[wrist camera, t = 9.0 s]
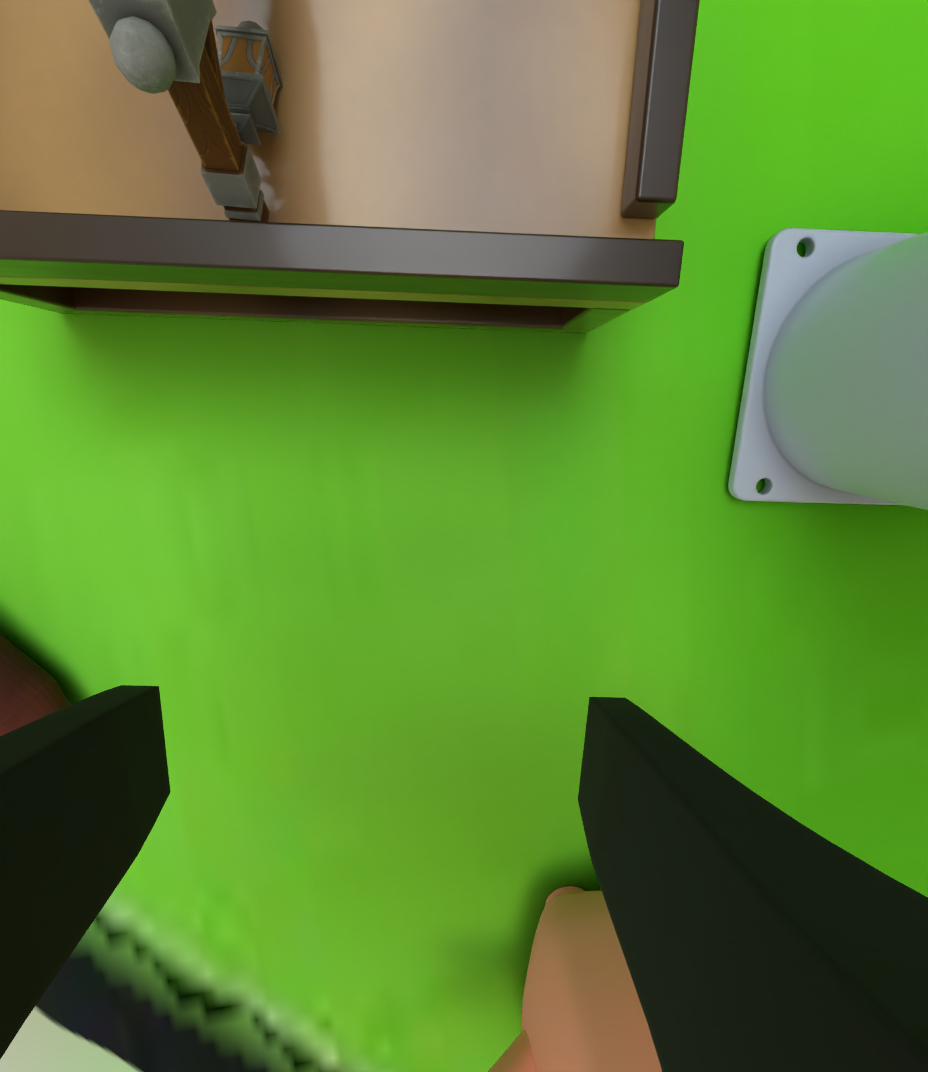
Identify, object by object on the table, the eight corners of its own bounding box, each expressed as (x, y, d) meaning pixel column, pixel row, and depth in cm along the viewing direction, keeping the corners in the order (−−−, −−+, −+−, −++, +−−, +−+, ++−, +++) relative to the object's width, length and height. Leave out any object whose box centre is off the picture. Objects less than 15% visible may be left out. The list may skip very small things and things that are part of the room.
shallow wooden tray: (622, -71, 14) (775, -491, 7) (587, 333, 16) (679, 287, 10) (-3, -111, 13) (-434, -600, 7) (58, 312, 16) (-216, 249, 9)
